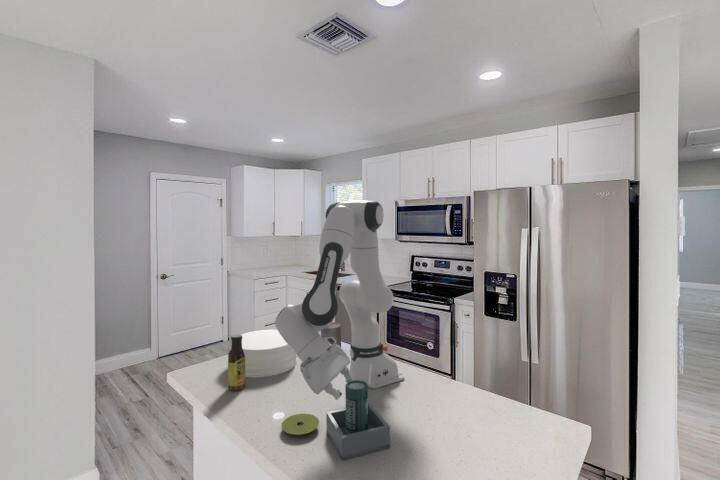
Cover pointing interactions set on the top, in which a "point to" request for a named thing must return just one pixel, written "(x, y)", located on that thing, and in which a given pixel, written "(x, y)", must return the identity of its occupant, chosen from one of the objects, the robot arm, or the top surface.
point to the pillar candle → (333, 332)
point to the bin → (357, 434)
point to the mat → (300, 424)
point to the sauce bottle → (236, 364)
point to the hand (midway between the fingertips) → (346, 389)
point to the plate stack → (267, 353)
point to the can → (356, 406)
